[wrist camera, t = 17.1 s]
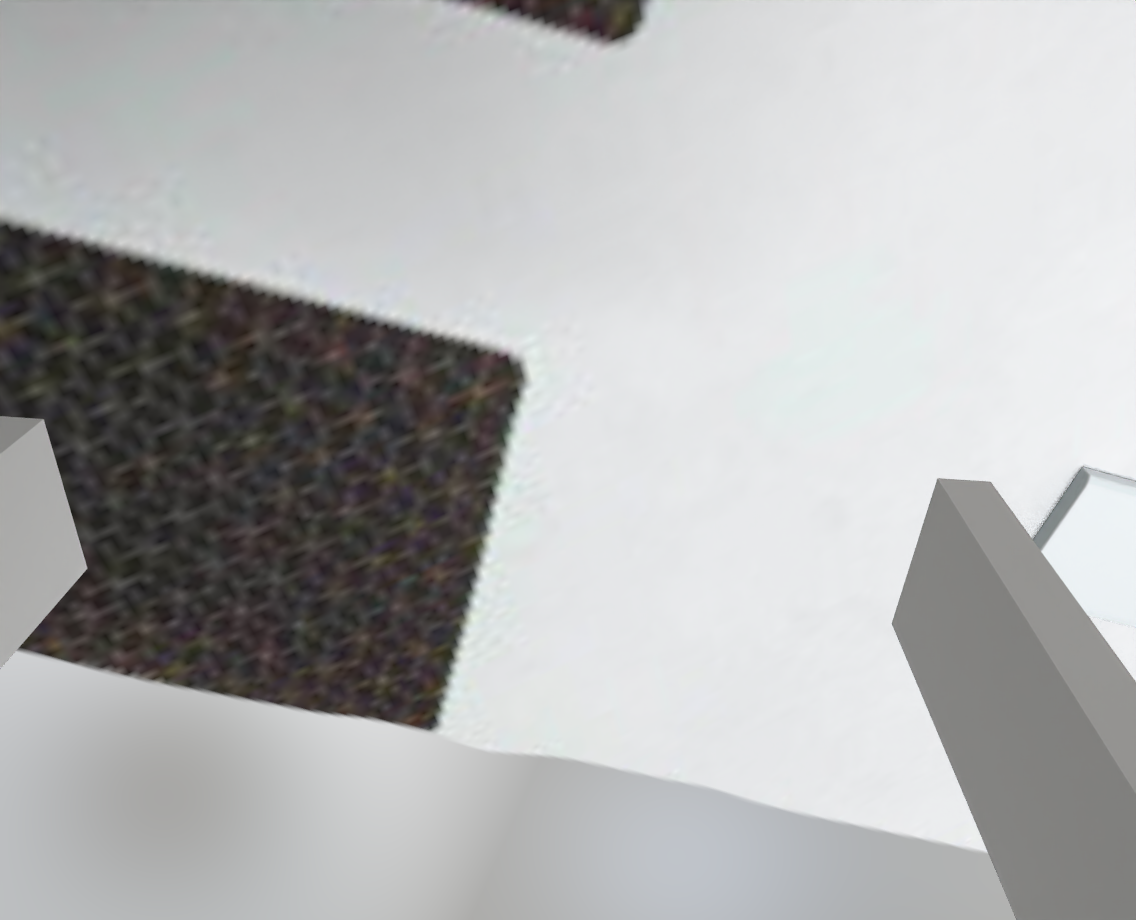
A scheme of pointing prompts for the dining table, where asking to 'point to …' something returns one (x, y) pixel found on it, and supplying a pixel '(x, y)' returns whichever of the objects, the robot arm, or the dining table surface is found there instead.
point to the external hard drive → (1095, 544)
